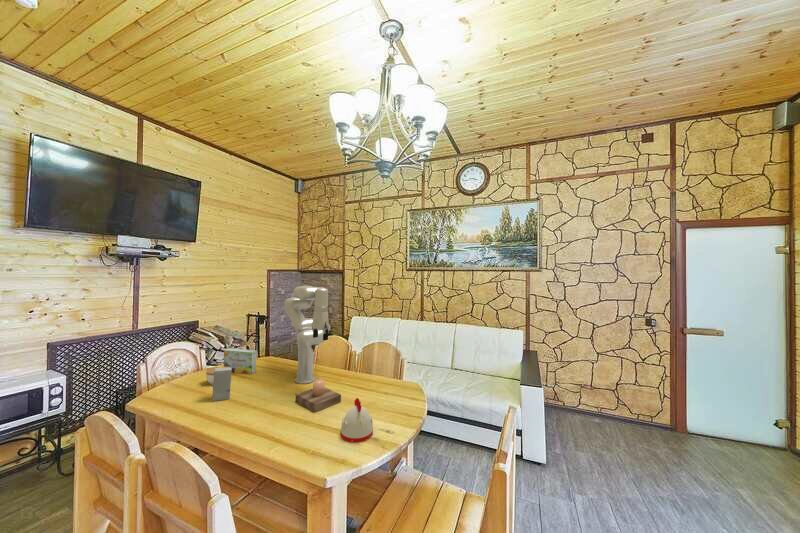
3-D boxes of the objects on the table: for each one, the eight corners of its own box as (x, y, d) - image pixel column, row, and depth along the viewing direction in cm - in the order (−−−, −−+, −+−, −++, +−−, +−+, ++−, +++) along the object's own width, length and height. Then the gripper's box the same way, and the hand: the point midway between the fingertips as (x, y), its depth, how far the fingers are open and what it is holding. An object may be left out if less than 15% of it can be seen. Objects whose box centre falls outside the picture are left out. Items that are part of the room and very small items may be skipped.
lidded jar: (229, 382, 184) (230, 367, 184) (211, 387, 175) (211, 371, 175) (220, 378, 190) (221, 363, 190) (202, 383, 181) (202, 368, 181)
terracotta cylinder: (310, 394, 160) (310, 381, 160) (319, 390, 164) (319, 378, 164) (317, 397, 156) (318, 384, 156) (326, 393, 161) (327, 380, 161)
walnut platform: (295, 401, 160) (295, 394, 160) (320, 392, 172) (320, 385, 172) (315, 412, 148) (315, 404, 148) (340, 402, 160) (341, 394, 161)
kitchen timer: (344, 445, 121) (345, 408, 122) (337, 428, 134) (338, 394, 134) (377, 438, 127) (378, 402, 127) (367, 422, 140) (368, 390, 140)
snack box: (222, 372, 201) (223, 349, 202) (228, 369, 207) (229, 347, 207) (251, 374, 198) (251, 351, 198) (256, 371, 204) (257, 349, 204)
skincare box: (211, 402, 157) (212, 371, 157) (213, 396, 163) (214, 367, 163) (230, 399, 161) (231, 369, 161) (230, 394, 167) (231, 365, 167)
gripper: (307, 308, 178) (306, 337, 178) (324, 311, 167) (324, 342, 167) (317, 307, 184) (316, 335, 183) (335, 310, 173) (334, 340, 172)
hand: (320, 338), depth 175 cm, fingers open, 9 cm apart
